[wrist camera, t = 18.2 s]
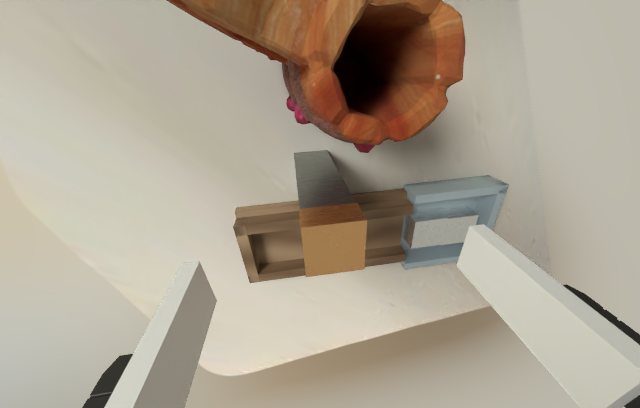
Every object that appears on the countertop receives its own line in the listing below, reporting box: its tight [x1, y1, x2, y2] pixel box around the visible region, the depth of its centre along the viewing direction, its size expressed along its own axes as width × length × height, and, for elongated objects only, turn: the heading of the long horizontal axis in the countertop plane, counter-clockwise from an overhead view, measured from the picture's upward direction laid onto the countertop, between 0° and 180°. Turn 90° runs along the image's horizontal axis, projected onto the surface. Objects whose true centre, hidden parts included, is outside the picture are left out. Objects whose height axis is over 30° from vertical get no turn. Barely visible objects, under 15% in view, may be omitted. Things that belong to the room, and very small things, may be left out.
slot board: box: [233, 189, 414, 283], centre depth 29 cm, size 10×20×3 cm, turn 94°
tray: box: [400, 175, 509, 269], centre depth 30 cm, size 11×11×3 cm
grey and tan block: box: [294, 150, 367, 277], centre depth 19 cm, size 4×4×14 cm
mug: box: [167, 0, 465, 153], centre depth 14 cm, size 15×8×15 cm, turn 66°
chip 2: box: [437, 205, 479, 245], centre depth 30 cm, size 4×4×2 cm
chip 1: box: [402, 208, 448, 249], centre depth 29 cm, size 4×4×2 cm
